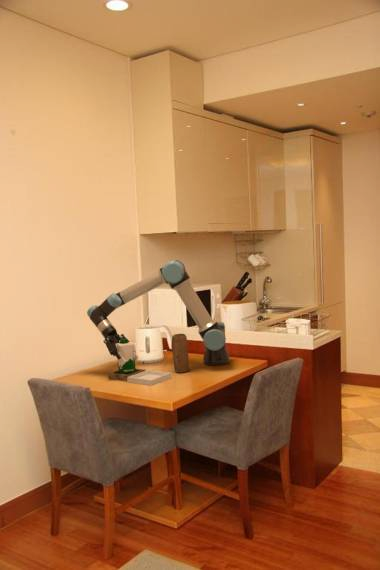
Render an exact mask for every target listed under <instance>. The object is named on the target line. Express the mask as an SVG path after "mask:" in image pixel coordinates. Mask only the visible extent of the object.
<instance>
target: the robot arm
mask: <svg viewBox="0 0 380 570" xmlns="http://www.w3.org/2000/svg"><path fill="white" fill-rule="evenodd" d="M190 279H191V277H190V276H189V273H188V272H187V270H186V266H185V265H184V263H183V262H182V261H180V260H177V259H172V260H169V261H167V262H166V263H165V264H164V265H163V266H162V267H160V268H158V271H157V272H155V273H153V274H151V275H150V276H147V277H146V278H143V279H142V280H140V281H138V282H135V283H134V284H132V285H130V286H128V287H127V288H125V289H122V290H121V291H119V292H117V293H111V294H110V295H109V296H108V297H106V298H105V300H104V301H102V302H101V304H99V305H97V304H95V305H92V306H90V307H89V308H88V310H87V311H86V315H87V317H88V318H89V320H90V321H91V322H92V323H93V325H94V326H95V327H96V328H97V329H98V331H99V332H100V333H101V335H102V337H103V338H104V340H103V344H105V346H106V348H107V350H108V352H109V354H110V356H113V357H115V358H116V359H117V361H118V360H120V362H121V363H122V364H123V365H124V364H125V362H126V360H125V359H124V358H123V356H122V355H121V354H120V353H119V352H118V351H117V343H120V339H128V338H127V337H126V336H125V334H124V333H122V334H119V333H118V331H117V329H116V328H115V326H114V325H113V324H112V322H111V321H110V319H108V317H109V316H110V315H111V314H112V313H113V312H114V311H115V310H117V309H118V308H120V307H122V306H124V305H126V304H127V303H130V302H131V301H133V300H136V299H137V298H140V297H141V296H143V295H145V294H147V293H149V292H152V291H153V290H155V289H156V288H159V287H160V286H162V285H164V284H166V285H169V287H170V288H171V290H174V291H175V292H176V294H178V295H177V296H179V298H180V300H181V301H182V303H183V304H184V306H185V308H186V310H187V311H188V312H189V315H190V316H191V318H192V319H193V321H194V322H195V324H196V326H197V327H198V334H199V336H200V338H201V339H202V341H203V345H204V346H205V351H204V355H203V359H202V364H204V365H205V366H222V365H228V364H229V363H230V362H231V361H230V356H229V353H228V350H227V348H226V347H227V344H226V341H227V339H226V326H225V323H224V322H223V321H222V322H221V321H220V322H219V321H217V320H215V319H212V316H211V315H210V314H209V312H208V310H207V308H206V306H205V305H204V304H203V302H202V301H201V299H200V297H199V296H198V293H197V292H196V290H195V289H194V287H193V285H192V284H191V282H190V281H191V280H190ZM128 342H131V341H130V340H129V339H128ZM117 352H118V353H117ZM134 353H135V362H136V361H138V359H139V358H140V357H139V356H138V354H137V353H136V351H135V350H134Z"/></svg>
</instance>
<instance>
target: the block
mask: <svg viewBox="0 0 380 570" xmlns="http://www.w3.org/2000/svg"><path fill="white" fill-rule="evenodd" d="M171 338H172V339H171V351H172V360H173V366H174V367H173V368H174V372H176V373H186V372H189V370H190V359H189V357H190V356H189V349H188V347H189V346H188V338H187V335H186V334H185V333H177V334H173V335H172V337H171Z"/></svg>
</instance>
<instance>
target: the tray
mask: <svg viewBox="0 0 380 570" xmlns="http://www.w3.org/2000/svg"><path fill="white" fill-rule="evenodd" d="M172 378H173V377H172V372H167V371H158V370H150V369H149V370H148V369H146V371H144V372H141V373H138V374H135V375H132V376H129V377H127V381H126V382H127V383H131V384H139V385H145V386H154V385H157V384H159V383H161V382H164V381H167V380H170V379H172Z"/></svg>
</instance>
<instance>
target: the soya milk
mask: <svg viewBox="0 0 380 570" xmlns="http://www.w3.org/2000/svg"><path fill="white" fill-rule="evenodd" d="M128 340H129V339H128V338H127V339H120V341H119V342H120V343H116V347H117V351H118V352H119V353H120V354H121V355H122V356H123V358H124V359H125V360H126V362H125V364H124V365H123V364H122V363H121V362H120V360H118V359H117V368H118V369H117V370H119V374H125V375H129V374H132V373H135V372H136V369H137V368H136V361H135V353H134V351H135V343H133V342H132V341H130V342H128ZM118 352H117V353H118ZM135 368H136V369H135Z"/></svg>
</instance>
